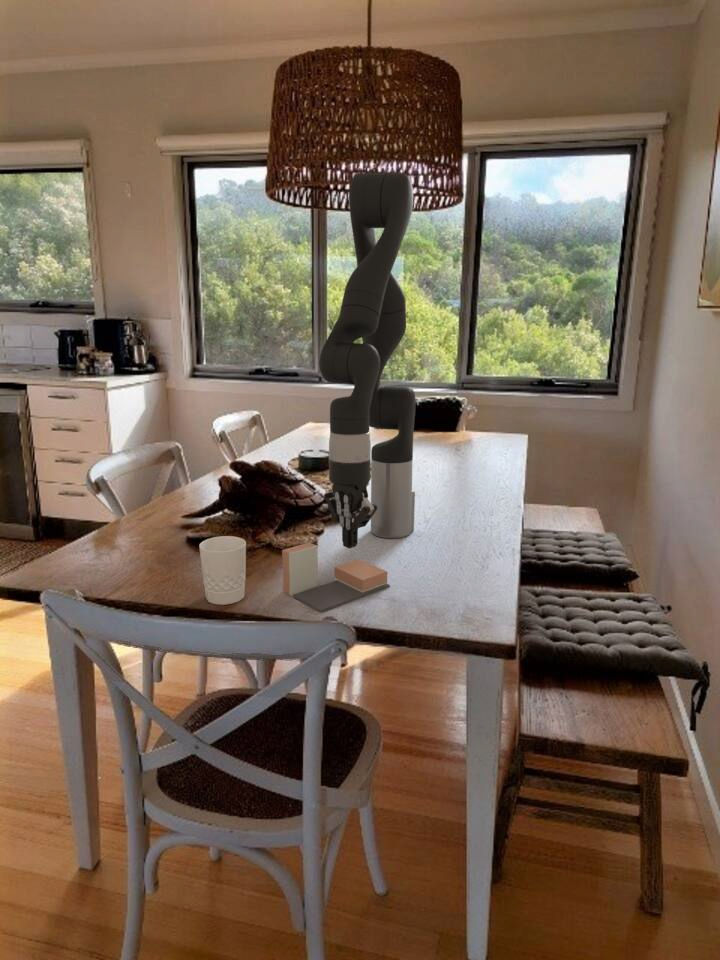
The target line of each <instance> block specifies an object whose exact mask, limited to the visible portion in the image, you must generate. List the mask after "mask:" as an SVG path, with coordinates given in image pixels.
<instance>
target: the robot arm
mask: <svg viewBox="0 0 720 960" xmlns="http://www.w3.org/2000/svg"><path fill="white" fill-rule="evenodd" d="M413 204H414V188H413V184H412V181H411V178H410V177H409V176H408V174H406V173H403V172H363V173H357V174H355V175H354V176H353V177H352V179H351V181H350V185H349V191H348V205H349V206H348V207H349V215H350V223H351V230H352V237H353V243H354V244H353V245H354V250H355V258H356V265H357V266H356V267H355V269H353V272H352V273H351V275H350V276H349V277H348V280H347V283H346V286H345V288H344V293H343V298H342V301H341V306H340V310H339V311H340V312H339V315H338V318H337V320H336V322H335V324H334V326H332V329H331V331H330V333H329V335H328V337H327V339H326V341H325V343H324V345H323V347H322V349H321V352H320V354H319V360H318V367H319V368H318V369H319V371H320V375H321V377H322V378H323V379H324V380H325V381H326V382H328V383H331V384H340V385H354V386H353V387H354V388H353V390H352V393H351V394H350V395H349V396H343V397H337V398H335V399H333V400H332V401H331V402H330V405H329V440H328V472H329V473H328V480H329V481H330V483H331V484H332V486H331V489H332V490H330V491H329V492H326V493H323V497H324V500H325V502H326V505H327V508H328V510H329V512H330V513H331V516H332V518H333V520H334V522H335V523H339V526H340V527H341V529H342V530H341V541H342V546H343V547H345V548H347V549H353V548H355V547H357V545H358V544H359V543H358V541H359V539H358V536H359V535H358V529H360V528H363V527H366V526H367V524H369V522H370V533H371V534H372V535H373V536H376V537H379V538H382V539H384V538H385V539H400V538H405V537H407V536H409V535H410V534H411V533H412V532H414V531H415V506H416V505H415V501H416V500H415V499H416V492H415V490H413V461H414V460H413V457H414V455H413V453H414V430H415V429H414V428H415V417H416V405H417V404H416V403H417V402H416V400H417V399H416V394H415V391H414V389H413V388H412V387H409V386H400V385H399V386H393V385H391V386H389V385H386V386H385V385H382V384H381V377H382V374H383V371H384V370H385V367H386V366H387V363H388V361H389V359H390V358H391V356H392V355H393V353H394V352H395V351H396V349H397V347H398V346H399V345H400V342H401V341H402V339H403V338H404V335H405V333H406V330H407V308H406V307H407V306H406V305H407V304H406V295H405V292H404V289H403V288H402V286H401V283H400V282H399V281H398V279H397V278H396V276H395V275H394V273H393V271H392V270H393V268H394V265H395V262H396V259H397V258H398V255H399V251H400V248H401V247H402V243H403V241H404V238H405V235H406V232H407V230H408V226H409V225H410V224H409V223H410V219H411V217H412V212H413V206H414V205H413ZM376 229H383V231H382V233H381V235H380V237H379V238H378V241H377V236H376ZM358 339H361V341H362V342H361V343H360V342H359V343H355V342H356V341H357V340H358ZM370 428H375V429H384V430H385V429H392V430H398V433H397V434H396V436H393V437H392V438H390V439H388V440H385V441H381V442H379V443H376V444H374V445H371V444H372V443H371V437H370V436H371V435H370ZM371 446H372V447H371ZM368 483H370V500H369V491H368V489H367V488H368V487H367V486H368ZM413 530H414V531H413Z"/></svg>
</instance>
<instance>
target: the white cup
mask: <svg viewBox="0 0 720 960" xmlns="http://www.w3.org/2000/svg"><path fill="white" fill-rule="evenodd" d="M198 546H199V555H200V565H201V566H200V567H201V572H202V581H203V585H204V593H205V600H207V602H209V603H210V604H213V605H220V606H225V605H231V604H236V603H238V602H240V601H241V600H243V599H244V597H245V595H246V576H247V573H246V572H247V543H246V540H245V539H243V538H242V537H239V536H238V537H237V536H233V535H226V536H225V535H222V536H214V537H211V538H207V539H204V540H203V541H202V542H200V543H199V545H198Z"/></svg>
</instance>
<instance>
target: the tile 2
mask: <svg viewBox="0 0 720 960" xmlns="http://www.w3.org/2000/svg"><path fill="white" fill-rule="evenodd" d="M333 568H334V569H333V570H334V571H333V572H334V573H333V574H334V576H333V577H334V580H335V581H336V580H338V581H340V582H342V583H344V584H346V585H348V586H350V587H352V588H354V589H356V590H358V591H360V592H362V593H363V592H366V591H368V590H371V589H374V588H376V587H379V586H382V585H385V584H388V571H387V570H384V569H383V568H380V567H377V566H376V565H373V564H371V563H369V562H366V561H364V560H362V559H359V558H358V559H355V560H351V561H349V562H344V563H342V564H339V565H336V566H334V567H333Z"/></svg>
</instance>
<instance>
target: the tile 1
mask: <svg viewBox="0 0 720 960" xmlns="http://www.w3.org/2000/svg"><path fill="white" fill-rule="evenodd" d="M318 553H319V552H318V545H316V544H314V543H311V542H307V543H302V544H299V545H295V546H292V547H288V548H284V549H282V550H281V554H282V555H281V557H282V560H281V561H282V586H283V587H282V590H283V592H284V593H285V594H287V595H288V596H290V597H293V595H294V594H297V593H300V592H303V591H306V590H309V589H312V588H315V587H318V586H319V570H318V569H319V565H318V564H319V563H318V561H319V557H318V555H319V554H318Z"/></svg>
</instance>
